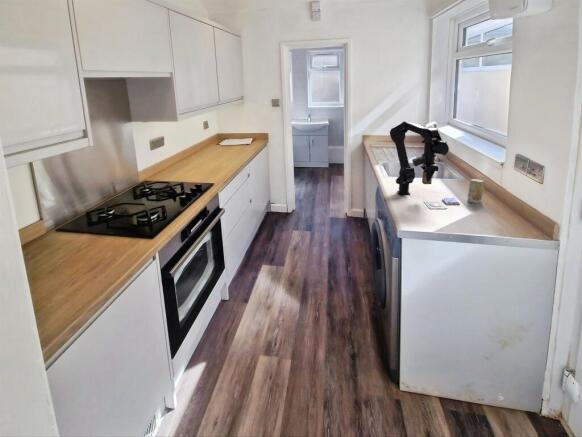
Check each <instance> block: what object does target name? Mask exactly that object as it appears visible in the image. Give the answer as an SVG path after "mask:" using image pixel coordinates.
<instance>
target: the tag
mask: <svg viewBox="0 0 582 437" xmlns="http://www.w3.org/2000/svg"><path fill="white" fill-rule="evenodd" d="M423 203H424V205H426V207H427V208H428V209H429V210H448V207H446V205H444V204H443V202H441V201H423Z"/></svg>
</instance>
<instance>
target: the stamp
mask: <svg viewBox="0 0 582 437" xmlns="http://www.w3.org/2000/svg"><path fill="white" fill-rule="evenodd" d="M432 179H433V176H432V177H431V179H430V181H429V182H427V178H426V172H422V179H421V183H422V184H423V185H432V181H433V180H432Z"/></svg>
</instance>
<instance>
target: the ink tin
mask: <svg viewBox="0 0 582 437" xmlns="http://www.w3.org/2000/svg"><path fill="white" fill-rule="evenodd" d="M441 201H442V203H444V204H445V206H446V205H447V206H451V205H452V206H457V205H458V206H459V205H461V202H460V201H459V200H458V199H456V198H455V197H442V198H441Z"/></svg>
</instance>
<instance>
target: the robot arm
mask: <svg viewBox="0 0 582 437" xmlns="http://www.w3.org/2000/svg"><path fill="white" fill-rule="evenodd" d="M409 131H410V132H412V133H415V134H417V135H420V137H421V138H422V139H423V140H421V143H422V144H424V145H423V146H424V147H423V148H424V149H423V153H422V155H421V156H419V157H416V158H415V157H414V158H413V159H412V160H411V161H412V164H413V166H414V167H418V166H419V167H420V168H421V169H422V171H423V172H426V178H427V182H429V181H430V179H431V177H432V178H433V175H434V174H435V172H439V166H438V165H436V162H435V157H436V156H437V155H442V156H446V155H447V154H448V153H449V150H450V148H449V145H448V144H447V141H445V140H444V141H443V138H442V137H441V135H440V133H439V129H438V128H436V127H425V126H422V125H421V124H416V123H415V122H412V121H410V120H406V121H402V122H401V123H399V124H398V125H396V126H395V127H392V128H391V129H390V130H389V136H390V139H391V140H392V142H393V143H394V145H395V148H396V153H397V156H398V162H399V166H400V169H399V172H398V173H399V176H398V177H397V178H396V179H395V184H397V185H398V190H397V191H396V192H397V194H398V195H406V196H407V195H409V196H410V195H411V193H410V184H413V182H414V180H415V178H416V172H415V168H414V167H411V166H410V162H409V159H408V154H407V150H406V146H405V139H406V133H407V132H409ZM423 172H422V173H423Z"/></svg>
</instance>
